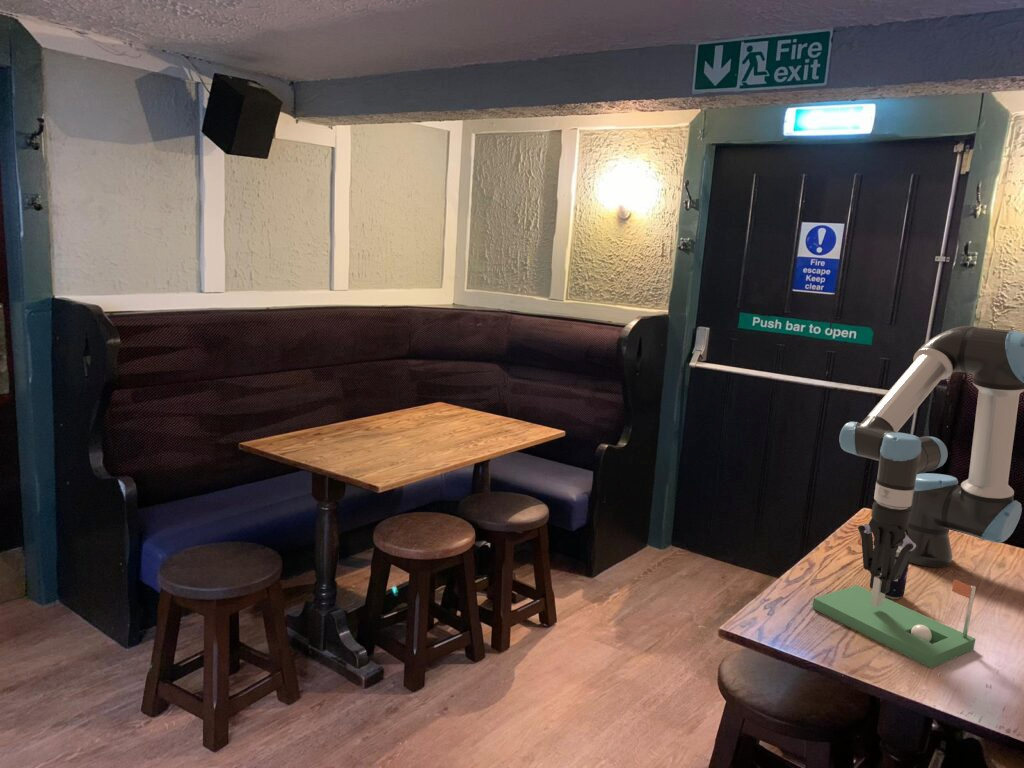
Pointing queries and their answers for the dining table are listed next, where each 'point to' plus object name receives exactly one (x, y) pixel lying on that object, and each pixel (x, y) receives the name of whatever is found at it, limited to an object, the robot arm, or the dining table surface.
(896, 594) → the beverage can
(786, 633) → the dining table surface
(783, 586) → the dining table surface
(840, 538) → the dining table surface
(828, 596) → the putting mat
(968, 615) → the flag pin
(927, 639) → the ball
